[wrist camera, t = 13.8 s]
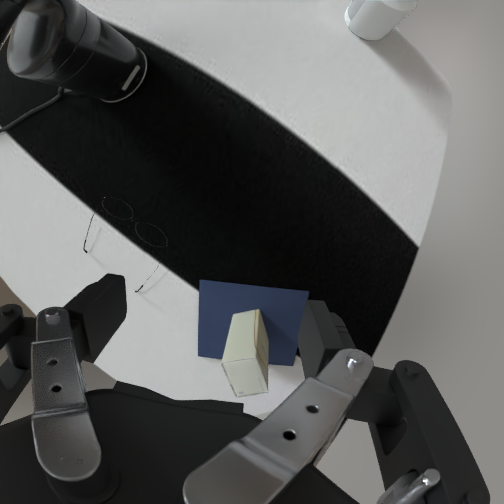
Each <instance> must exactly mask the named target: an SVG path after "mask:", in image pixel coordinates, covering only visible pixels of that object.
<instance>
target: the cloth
mask: <svg viewBox="0 0 504 504" xmlns="http://www.w3.org/2000/svg"><path fill="white" fill-rule="evenodd" d="M308 296H309V291H302V290H291V289H281V288H271V287H262V286H252V285H243V284H234V283H226V282H217V281H209V280H201V279H200V290H199V324H198V356H201V357H208V358H216V359H222V358H223V354H224V350H225V346H226V342H227V338H228V333H229V329H230V325H231V321H232V317H233V314H237V313H242V312H247V311H251V310H257V309H259V310H260V313H261V316H262V319H263V323H264V326H265V329H266V333H267V337H268V340H269V351H268V364H272V365H286V366H293V364H294V360H295V356H296V351H297V347H298V333H299V328H300V324H301V319H302V315H303V311H304V306H305V303H306V300H308Z"/></svg>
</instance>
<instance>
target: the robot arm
mask: <svg viewBox="0 0 504 504" xmlns="http://www.w3.org/2000/svg"><path fill="white" fill-rule="evenodd" d="M11 28H12V31H11V35H10V40H9V44H8V50H7V62H8V66H9V68H10V70H11V72H12V73H14V74H15V75H16V76H19V77H22V78H26V79H30V80H35V81H39V82H43V83H47V84H51V85H55V86H58V87H59V89H58V95H57V96H55V97H54V98H53V99H51V100H50V101H48V102H46V103H44V104H42V105H40V106H38V107H36V108H34V109H32V110H30V111H29V112H27V113H25V114H24V115H22V116H21V117H19V118H18V119H16V120H15V121H14V122H12V123H10V124H9V125H7V126H5V127H3V128H1V129H0V133H1V132H4V131H6V130H8V129H9V128H11V127H13V126H14V125H16V124H17V123H19V122H20V121H22V120H23V119H25V118H26V117H28V116H30V115H31V114H33V113H35V112H37V111H39V110H41V109H43V108H45V107H47V106H49V105H51V104H53V103H54V102H56V101H57V100H58V99H60V98H61V96H62V95H63V89H64V88H65V93H69V94H73V95H82V94H86V95H89V96H92V97H95V98H98V99H100V100H102V101H105V102H109V103H118V102H121V101H124V100H126V99H128V98H130V97H131V96H133V95H134V94H135V93H136V92H137V91H138V90H139V89H140V88H141V86H142V85H143V83H144V81H145V79H146V77H147V74H148V67H149V65H148V59H147V57H146V55H145V53H144V52H143V51H142V50H140V49H139V48H138V47H136V46H134V45H133V44H132V43H131V42H130V41H129V40H127V39H126V38H125V37H124V36H122V35H121V34H120V33H119V32H117V31H116V30H115V29H113V28H112V27H111V26H110V25H108V24H107V23H106V22H104V21H103V20H102V19H100V18H99V17H98V16H96V15H95V14H94V13H92V12H91V11H89V10H88V9H87V8H85V7H84V6H83V5H81V4H80V3H79V2H77V1H76V0H0V48H1V46H2V44H1V43H4V41H5V39H6V37H7V35H8V33H9V31H10V30H11ZM126 313H127V302H126V287H125V278H124V276H121V275H115V274H109V273H108V274H106V275H105V276H104V277H103V278H101V279H100V280H99V281H98V282H95V283H93V284H90V285H88V286H87V287H85V288H84V289H83V290H82V291H81V292H80V293H78V294H77V296H75V297H74V298H73V299H72V300H71V301H69V302H68V303H67V304H66V305H65V306H64V307H63V308H62V307H49V308H46V309H44V310H42V311H40V312H39V313H38V315H37V318H33V317H24V315H23V311H22V308H21V307H20V306H19V305H17V304H7V305H4V306H1V307H0V350H1V349H2V348H3V347H5V350H6V352H7V355H8V358H7V360H6V361H5V362H4V363H3V364H2V365H1V367H0V424H1V422H2V421H3V419H4V417H5V416H6V414H7V413H8V411H9V410H10V408H11V407H12V405H13V404H14V402H15V401H16V399H17V398H18V396H19V395H20V394H21V392H22V391H23V389H24V388H25V386H26V385H27V384H28V382H29V381H30V379H31V378H32V394H33V406H34V413H33V414H31V415H28V416H26V417H23V418H21V419H18V420H15V421H13V422H10V423H7V424H4V425H2V426H0V504H359V503H358V502H357V501H356V500H354V499H353V498H352V497H350V496H349V495H348V494H347V493H346V492H344V491H343V490H342V489H341V488H339V487H338V486H337V485H336V484H335V483H333V482H332V481H331V480H330V479H329V478H327V477H326V476H325V475H324V474H323V473H322V472H320V471H319V470H318V469H317V468H316V465H317V464H318V462H319V461H320V460H321V458H322V457H323V455H324V454H325V452H326V451H327V449H328V448H329V446H330V445H331V444H332V442H333V441H334V439H335V438H336V436H337V435H338V433H339V432H340V430H341V429H342V427H343V426H344V424H345V423H346V421H347V419H353V420H358V421H363V422H368V425H369V428H370V432H371V436H372V439H373V443H374V447H375V451H376V455H377V459H378V463H379V466H380V471H381V475H382V479H383V483H384V488H385V492H384V493H383V494H382V495H381V496H380V497H379V499H378V501H377V504H490V494H489V491H488V488H487V486H486V484H485V481H484V479H483V477H482V474H481V472H480V470H479V468H478V465H477V463H476V461H475V459H474V457H473V455H472V453H471V451H470V449H469V446H468V444H467V443H466V440H465V438H464V436H463V434H462V433H461V431H460V429H459V427H458V425H457V423H456V421H455V419H454V417H453V415H452V414H451V412H450V410H449V408H448V406H447V405H446V403H445V401H444V399H443V397H442V396H441V394H440V392H439V390H438V388H437V387H436V385H435V383H434V382H433V380H432V378H431V377H430V375H429V373H428V372H427V370H426V369H425V368H424V367H423V366H422V365H420V364H419V363H416V362H413V361H409V360H403V361H399V362H398V363H397V364H396V365H395V368H394V370H389V369H384V368H379V367H375V366H374V363H373V360H372V358H371V357H370V356H369V355H368V354H366V353H365V352H362V351H360V350H357V349H356V347H355V345H354V343H353V341H352V339H351V337H350V335H349V334H348V331H347V329H346V328H345V324H344V322H343V320H342V319H341V318H340V317H339V316H337V315H336V314H335V313H329V311H328V308H327V306H326V304H325V302H324V301H317V300H306V303H305V306H304V311H303V315H302V319H301V324H300V328H299V333H298V346H299V351H300V356H301V361H302V366H303V371H304V376H305V380H304V381H303V382H302V383H301V384H300V385H299V386H298V387H297V388H296V389H295V390H294V391H293V392H292V393H291V394H290V395H289V396H288V397H287V398H286V399H285V400H284V401H283V402H282V403H281V404H280V405H279V406H278V407H277V408H276V409H275V410H274V411H273V412H272V413H271V414H270V415H268V416H267V417H266V418H265V419H264V420H261V419H259V418H257V417H254V416H252V415H249V414H246V413H243V406H244V403H235V402H226V401H218V400H174V399H171V398H168V397H166V396H164V395H161V394H159V393H156V392H154V391H152V390H150V389H147V388H144V387H140V386H136V385H132V384H128V383H124V382H120V381H117V382H116V384H115V386H114V388H113V389H97V390H92V391H88V390H87V387H86V383H85V379H84V375H83V372H82V367H81V364H80V363H81V362H82V360H84V361H87V362H91V363H94V362H95V360H96V359H97V357H98V356H99V354H100V353H101V352H102V350H103V349H104V347H105V346H106V344H107V343H108V342H109V340H110V339H111V337H112V336H113V335H114V333H115V332H116V331H117V329H118V328H119V326H120V325H121V324H122V322H123V321H124V319H125V317H126ZM405 419H406V420H405Z"/></svg>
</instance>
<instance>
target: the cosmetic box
mask: <svg viewBox="0 0 504 504" xmlns="http://www.w3.org/2000/svg"><path fill="white" fill-rule="evenodd" d="M268 351H269V340H268V337H267V333H266V329H265V326H264V323H263V319H262V316H261V313H260V310H259V309H257V310H251V311H247V312H242V313H237V314H233V317H232V321H231V325H230V329H229V333H228V338H227V342H226V346H225V350H224V354H223V358H222V363H221V364H222V367H223V369H224V372H225V374H226V377H227V379H228V381H229V383H230V386H231V388H232V390H233V392H234V394H235V396H236V397H245V396H252V395H258V394H264V393H268Z"/></svg>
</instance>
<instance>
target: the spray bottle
mask: <svg viewBox="0 0 504 504" xmlns="http://www.w3.org/2000/svg"><path fill="white" fill-rule="evenodd" d="M416 6H417V0H352V2H351V3H350V5H349V7H348V8H347V10H346V12H345V22H346V24H347V26H348V27H349V29H350V30H351V31H352V32H353V33H355V34H356V35H357V36H359V37H361V38H363V39H366V40H371V41H372V40H380V39H382V38H383V37H385V36H386V35H387V34H388V33H389V32H390V31H391V30H392V29H393V28H394V27H395V26H396V25H397V24H399V23H400V22H401V21H402V20H403V19H404V18H405V17H406V16H407V15H408V14H410V13H411V12H412V11H413V10H414V9H415V8H416Z"/></svg>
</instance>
